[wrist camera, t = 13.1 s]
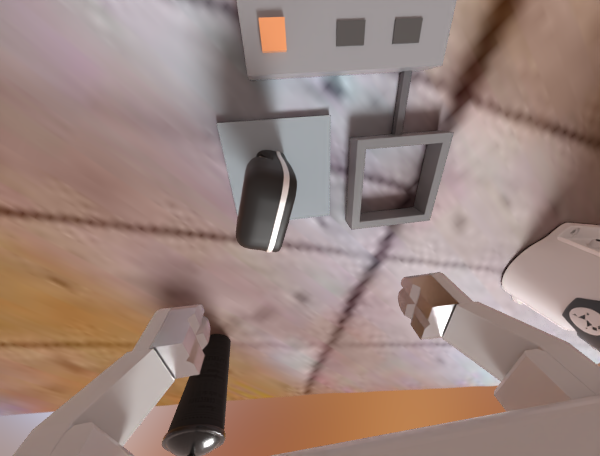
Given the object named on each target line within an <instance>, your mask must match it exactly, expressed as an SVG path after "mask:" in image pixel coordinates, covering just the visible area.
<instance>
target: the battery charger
mask: <svg viewBox="0 0 600 456" xmlns="http://www.w3.org/2000/svg"><path fill="white" fill-rule="evenodd" d="M296 192H297V179H296V175H295V173H294V171H293V169H292V167H291V165H290V164H289V162H288V161H287V159H286V157H285V155H284V154H283V153H280V152H279V151H272V150H261V151H259V152H258V153H257V155H256V157H254V158H253V159H251V160H250V162H249V163H248V164H247V166H246V170H245V174H244V181H243V187H242V193H241V200H240V206H239V212H238V218H237V227H236V238H237V241H238V243H239V244H240V245H241V246H243V247H245V248H249V249H256V250H263V251H266V252H270V253H271V252H278V251H279V250H280V249H281V247H282V243H283V240H284V237H285V233H286V230H287V227H288V223H289V219H290V216H291V212H292V209H293V205H294V201H295V197H296Z"/></svg>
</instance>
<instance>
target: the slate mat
mask: <svg viewBox="0 0 600 456" xmlns="http://www.w3.org/2000/svg"><path fill="white" fill-rule="evenodd" d="M217 127H218V132H219V136H220V140H221V145H222V149H223V153H224V158H225V162H226V167H227V171H228V175H229V180H230V184H231V189H232V193H233V197H234V202H235V206H236V211H237V215H238V212H239V206H240V200H241V193H242V187H243V181H244V174H245V170H246V166H247V164H248V163H249V162H250V160H251V159H253V158H254V157H256V155H257V153H258V152H259V151H261V150H272V151H279V152H280V153H283V154H284V155H285V157H286V159H287V161H288V162H289V164H290V165H291V167H292V169H293V171H294V173H295V175H296V179H297V192H296V197H295V201H294V205H293V209H292V212H291V216H290V219H289V220H292V219H301V218H310V217H319V216H328V215H330V127H331V115H322V116H308V117H294V118H280V119H266V120H252V121H238V122H224V123H217Z"/></svg>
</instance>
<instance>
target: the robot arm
mask: <svg viewBox="0 0 600 456" xmlns="http://www.w3.org/2000/svg"><path fill="white" fill-rule="evenodd" d="M401 285H402V287H403V289H402V290H401V291H400V292H399V295H398V302H399V306H400V308H401V310H402V312H403V314H404V315H405V316H407V317H408V318H410V319H411V326H412V327H413V329H414V330H415V332H416V333H417V335H418V336H419V338H420V339H421V340H425V339H433V338H441V337H443V338H442V339H444V340H445V341H446V342H448V343H449V344H450V345H452V346H453V347H454V348H456V349H457V350H459V351H460V352H461V353H463V354H464V355H465V356H467V357H468V358H469V359H471V360H472V361H474V362H475V363H476V364H478V365H479V366H480V367H482V368H483V369H485V370H486V371H487V372H489V373H490V374H491V375H493V376H494V377H495V378H497V379H498V380H500V381H501V383H500V384H499V386H498V387H497V388H496V390H495V392H494V396H495V397H496V398H497V399H498V401H499V402H500V403H501V404H502V406H503V407H504V409H505V410H506V411H507V412H503V413H497V414H492V415H486V416H481V417H476V418H470V419H465V420H460V421H454V422H449V423H444V424H438V425H433V426H428V427H422V428H417V429H411V430H406V431H401V432H395V433H390V434H385V435H379V436H374V437H368V438H363V439H358V440H352V441H347V442H342V443H337V444H331V445H326V446H320V447H315V448H309V449H305V450H299V451H293V452H288V453H283V454H277V455H272V456H600V367H599V366H598V365H597V364H595V363H594V362H593V361H592V360H590V359H589V358H588V357H586V356H585V355H584V354H582V353H581V352H580V351H579V350H577V349H576V348H575V347H573V346H572V345H571V344H570V343H568V342H566V341H564V340H562V339H559V338H557V337H555V336H553V335H551V334H548V333H546V332H544V331H542V330H539V329H537V328H535V327H533V326H531V325H528V324H526V323H524V322H522V321H520V320H517V319H515V318H513V317H511V316H508V315H506V314H504V313H502V312H500V311H497V310H495V309H493V308H491V307H488V306H486V305H484V304H482V303H480V302H473V301H472V300H471V299H470V298H469V297H468V296H467V295H466V294H465V293H464V292H462V291H461V290H460V289H459V288H458V287H457V286H456V285H455V284H454V283H453V282H452V281H451V280H449V279H448V278H447V277H446V276H445V275H444V274H442V273H440V272H437V273H430V274H423V275H416V276H409V277H404V278H403V279H402V281H401ZM502 287H503V289H504V290H505V291H506V292H507V293H509V294H511V295H512V299H513V301H515V302H516V303H518V304H525V305H527V306H528V307H530V308H531V309H533V310H534V311H536V312H538V313H539V314H541V315H542V316H544V317H545V318H547V319H548V320H550V321H551V322H553V323H555V324H556V325H558V326H559V327H561V328H563V329H565V330H569V331H575V332H577V335H578V336H579V337H580V338H581V339H583V340H584V341H585V342H587V343H588V344H590V346H591V347H593V348H594V349H595V350H597V351H600V225H592V224H579V223H564V224H562V225H561V226H559V227H558V228H557V229H555V230H554V231H553V232H552V233H551V234H549V235H548V236H547V237H545V238H544V239H542V240H540V241H539V242H537V243H535V244H533V245H532V246H530V247H529V248H527V249H526V250H525V251H523V252H522V253H521V254H520V255H519V256H518V257H517V258H516V259H515V260H514V261H513V262H512V263H511V264H510V266H509V267H508V268H507V270H506V272H505V273H504V276H503V279H502ZM204 311H205V310H204V308H203V306H202V305H190V306H181V307H173V308H164V309H159V310H158V311H156V312H155V314H154V315H153V317H152V319H151V320H150V322H149V324H148V325H147V327H146V329H145V330H144V332H143V334H142V335H141V337H140V339H139V341H138V342H137V344H136V346H135V347H134V349H133V351H131V352H127V353H126V354H125V355H123V356H122V357H121V358H120V359H118V360H117V361H116V362H115V363H114V364H112V365H111V366H110V367H109V368H107V369H106V370H105V371H104V372H103V373H101V374H100V375H99V376H98V377H96V378H95V379H94V380H93V381H92V382H90V383H89V384H88V385H87V386H85V387H84V388H83V389H82V390H81V391H79V392H78V393H77V394H76V395H75V396H73V397H72V398H71V399H70V400H68V401H67V402H66V403H65V404H64V405H62V406H61V407H60V408H59V409H57V410H56V411H55V412H54V413H53V414H51V415H50V416H49V417H48V418H47V419H45V420H44V421H43V422H42V423H40V424H39V425H38V426H37V427H36V428H34V429H33V430H32V431H31V433H30V434H29V435H28V437H27V438H26V439H25V440H24V442H23V443H22V445H21V446H20V447H19V448H18V450H17V451H16V452H15V454H14V455H13V456H134V455H133V454H132V453H130V452H129V451H128V450H127V449H125V448H124V447H123V446H124V444H125V443H126V442H127V441H128V439H129V438H130V437H131V436H132V434H133V433H134V432H135V430H136V429H137V428H138V427H139V425H140V424H141V423H142V422H143V420H144V419H145V418H146V416H147V415H148V414H149V413H150V411H151V410H152V409H153V408H154V406H155V405H156V404H157V402H158V401H159V400H160V399H161V397H162V396H163V395H164V393H165V392H166V391H167V390H168V388H169V387H170V386H171V385H172V383H173V382H174V381H175V380H174V379H177V378H182V377H188V376H193V375H199V374H200V370H201V367H202V363H203V360H204V356H205V355H204V353H203V351H202V350H203V349H204V348H205V346H206V345H207V344H208V342H209V338H210V323H209V320H208V318H206V317H205V316H203V314H204Z"/></svg>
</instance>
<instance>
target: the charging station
mask: <svg viewBox="0 0 600 456" xmlns="http://www.w3.org/2000/svg"><path fill="white" fill-rule="evenodd" d="M236 1H237V8H238V15H239V22H240V28H241V35H242V42H243V48H244V55H245V62H246V69H247V75H248V78H249V79H250V80H268V79H286V78H304V77H322V76H340V75H358V74H375V73H393V72H400V79H399V86H398V93H397V100H396V107H395V114H394V121H393V128H392V134H390V135H377V136H365V137H353V138H350V147H349V166H348V185H347V204H346V222H347V224H348V225H349V227H350V228H351V230H353V229H361V228H370V227H378V226H386V225H395V224H403V223H412V222H420V221H429V220H430V218H431V214H432V210H433V207H434V203H435V199H436V196H437V192H438V188H439V185H440V181H441V177H442V174H443V170H444V166H445V163H446V159H447V155H448V152H449V148H450V144H451V141H452V137H453V134H454V132H446V131H427V132H414V133H402V130H403V123H404V117H405V111H406V105H407V99H408V93H409V87H410V81H411V74H412V71H423V70H427V69H431V68H435V67H438V66H442V64H443V60H444V55H445V51H446V46H447V42H448V37H449V32H450V28H451V23H452V19H453V14H454V9H455V5H456V0H236ZM422 144H427V148H426V153H425V157H424V162H423V166H422V171H421V175H420V180H419V184H418V189H417V193H416V198H415V202H414V207H411V208H402V209H393V210H384V211H375V212H366V213H360V210H361V199H362V188H363V177H364V166H365V155H366V149H376V148H387V147H399V146H410V145H422Z"/></svg>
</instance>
